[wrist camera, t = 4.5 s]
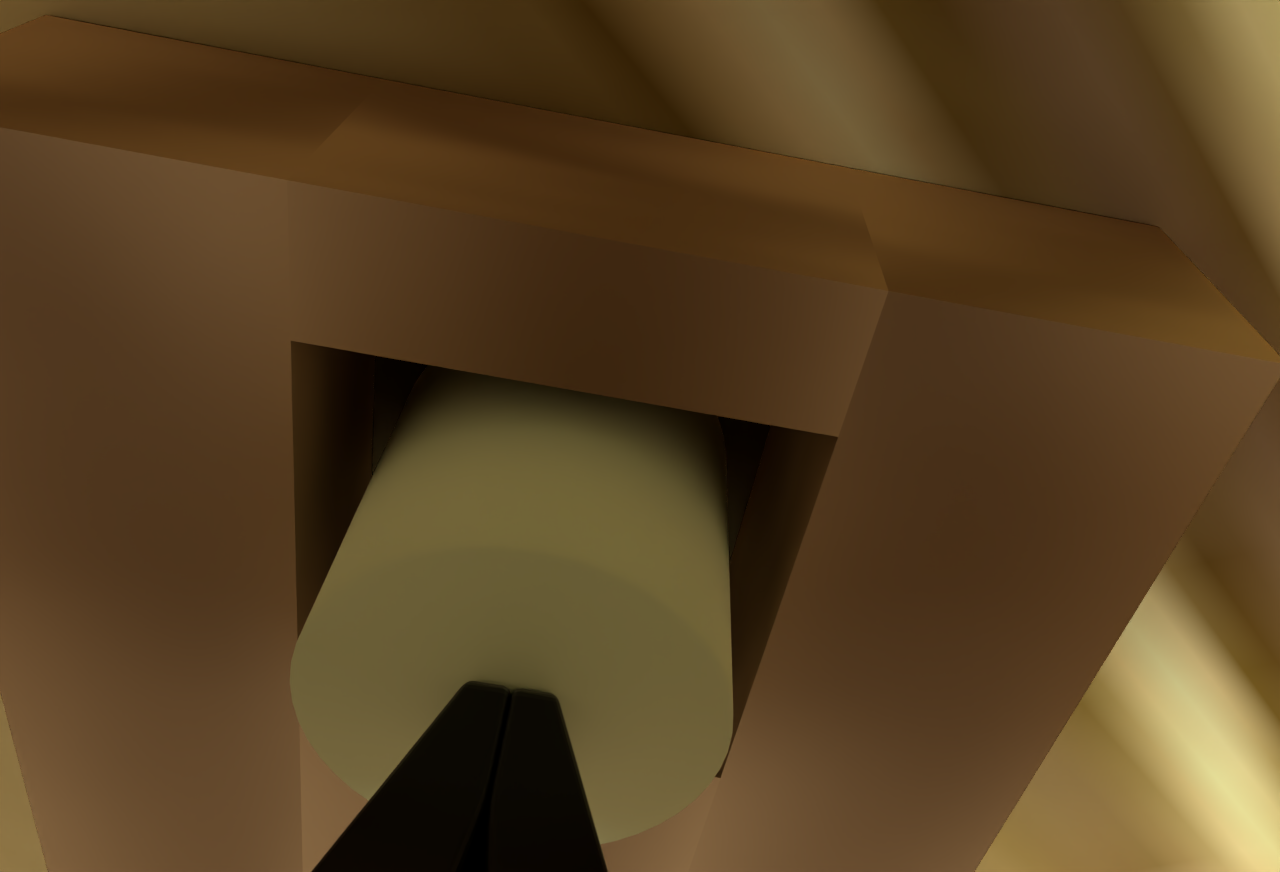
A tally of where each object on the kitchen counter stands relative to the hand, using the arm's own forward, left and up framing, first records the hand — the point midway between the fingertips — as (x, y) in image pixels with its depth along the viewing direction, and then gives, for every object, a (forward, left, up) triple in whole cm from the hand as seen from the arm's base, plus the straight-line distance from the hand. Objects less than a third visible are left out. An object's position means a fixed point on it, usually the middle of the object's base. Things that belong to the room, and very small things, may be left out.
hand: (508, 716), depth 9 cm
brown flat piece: (0, -8, -5) cm, 10 cm away
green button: (0, 0, -4) cm, 4 cm away
